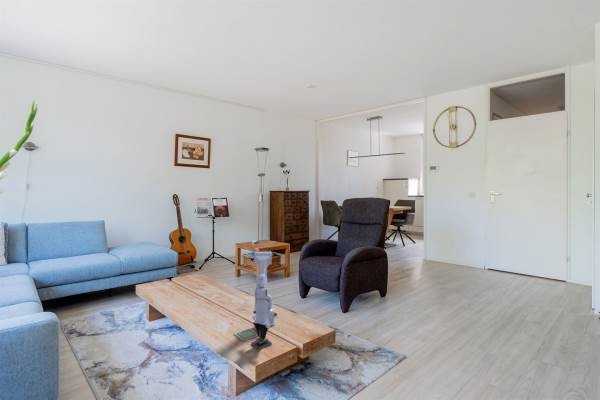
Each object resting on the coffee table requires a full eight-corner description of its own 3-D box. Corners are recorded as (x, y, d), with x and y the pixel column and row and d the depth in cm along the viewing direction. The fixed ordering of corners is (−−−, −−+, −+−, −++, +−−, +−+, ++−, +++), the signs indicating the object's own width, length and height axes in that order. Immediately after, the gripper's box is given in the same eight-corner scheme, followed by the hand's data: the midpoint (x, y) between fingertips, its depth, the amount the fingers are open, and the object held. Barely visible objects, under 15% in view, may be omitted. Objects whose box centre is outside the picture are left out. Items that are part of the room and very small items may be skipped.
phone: (262, 307, 215) (277, 313, 205) (262, 309, 215) (277, 315, 205) (252, 311, 209) (268, 317, 199) (252, 313, 210) (268, 319, 199)
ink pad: (264, 339, 172) (264, 337, 172) (271, 344, 167) (271, 342, 167) (251, 344, 168) (251, 341, 167) (258, 349, 162) (258, 347, 162)
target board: (250, 329, 185) (250, 328, 185) (259, 335, 177) (259, 334, 177) (234, 334, 178) (234, 333, 178) (242, 341, 171) (242, 340, 171)
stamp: (263, 339, 170) (263, 327, 170) (267, 341, 168) (267, 330, 167) (255, 342, 167) (255, 330, 167) (260, 344, 164) (260, 333, 164)
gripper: (247, 308, 170) (247, 334, 170) (262, 317, 158) (262, 344, 159) (259, 305, 174) (259, 330, 175) (274, 314, 163) (274, 340, 163)
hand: (261, 337), depth 167 cm, fingers closed on stamp, 3 cm apart
